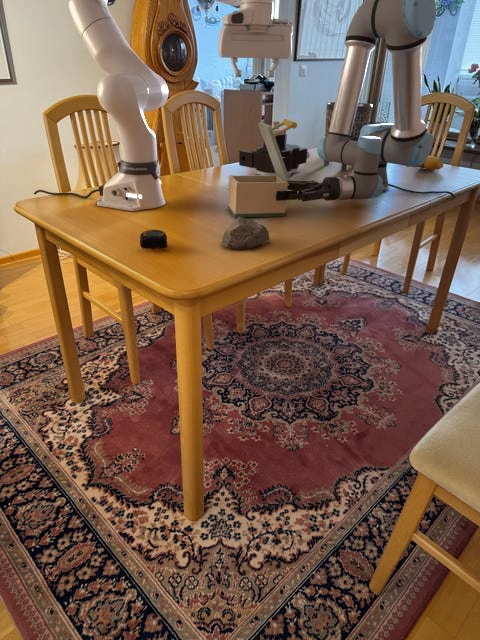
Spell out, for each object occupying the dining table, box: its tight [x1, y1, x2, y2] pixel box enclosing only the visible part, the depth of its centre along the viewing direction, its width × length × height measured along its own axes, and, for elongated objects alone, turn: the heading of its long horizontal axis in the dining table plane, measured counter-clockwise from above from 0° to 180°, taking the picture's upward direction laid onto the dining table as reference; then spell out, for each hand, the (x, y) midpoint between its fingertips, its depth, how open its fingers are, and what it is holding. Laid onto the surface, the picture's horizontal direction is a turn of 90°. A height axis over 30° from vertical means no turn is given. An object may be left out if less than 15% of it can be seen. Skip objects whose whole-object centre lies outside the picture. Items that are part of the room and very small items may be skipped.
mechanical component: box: [238, 120, 311, 176], centre depth 191 cm, size 22×21×30 cm
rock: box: [221, 217, 270, 250], centre depth 119 cm, size 13×9×6 cm, turn 131°
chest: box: [227, 174, 288, 218], centre depth 144 cm, size 16×10×10 cm, turn 104°
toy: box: [418, 155, 445, 172], centre depth 208 cm, size 11×6×15 cm
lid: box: [257, 118, 298, 181], centre depth 138 cm, size 17×10×9 cm
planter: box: [323, 101, 374, 172], centre depth 204 cm, size 20×20×26 cm
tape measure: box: [139, 229, 168, 250], centre depth 117 cm, size 7×7×4 cm
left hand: (254, 77), depth 127 cm, fingers open, 8 cm apart
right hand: (271, 191), depth 144 cm, fingers closed on chest, 10 cm apart
